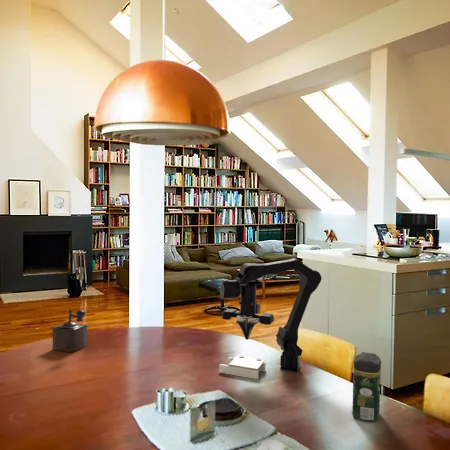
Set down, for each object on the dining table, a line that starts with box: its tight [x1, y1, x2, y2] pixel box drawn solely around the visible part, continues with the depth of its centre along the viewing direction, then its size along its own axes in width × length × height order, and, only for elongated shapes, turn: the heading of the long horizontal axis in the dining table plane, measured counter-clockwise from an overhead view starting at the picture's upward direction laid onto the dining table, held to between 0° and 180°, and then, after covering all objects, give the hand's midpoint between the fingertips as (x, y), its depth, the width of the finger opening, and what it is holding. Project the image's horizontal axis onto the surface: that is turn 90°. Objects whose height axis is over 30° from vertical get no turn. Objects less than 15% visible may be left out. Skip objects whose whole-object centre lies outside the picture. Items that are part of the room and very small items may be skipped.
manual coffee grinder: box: [51, 308, 88, 353], centre depth 202 cm, size 16×11×18 cm
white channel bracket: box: [218, 356, 267, 380], centre depth 179 cm, size 15×9×3 cm, turn 67°
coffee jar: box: [351, 351, 382, 422], centre depth 145 cm, size 10×8×19 cm
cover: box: [229, 355, 266, 369], centre depth 179 cm, size 11×9×1 cm
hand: (247, 339), depth 178 cm, fingers closed
